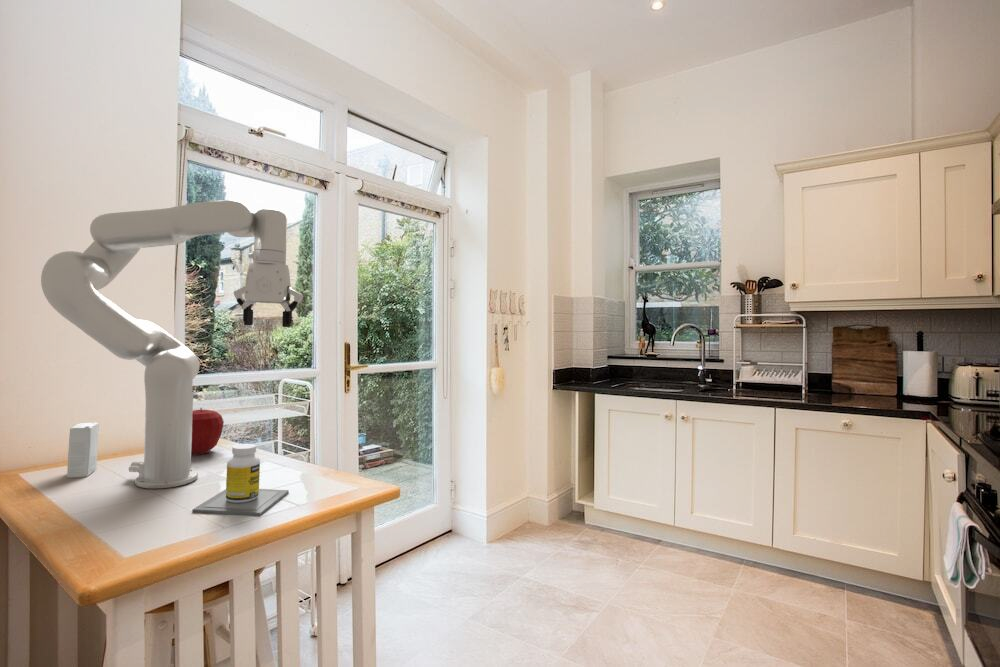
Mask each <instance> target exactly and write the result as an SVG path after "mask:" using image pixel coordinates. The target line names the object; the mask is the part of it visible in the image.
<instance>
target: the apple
mask: <svg viewBox="0 0 1000 667" xmlns="http://www.w3.org/2000/svg"><path fill="white" fill-rule="evenodd" d="M224 423H225V421H224V418H223V416H222V415H221V413H219V412H218V411H216V410H209V409H202V407H200V409H195V410H193V413H192V443H191V456H192V455H193V456H199V455H200V456H201V455H203V454H206V453H209V452H210V451H212V449H214V448H215V447H216V446H217V445H218V444H219V443H218V442H219V440H220V438H221V435H222V433H223V430H224V429H223V428H224Z"/></svg>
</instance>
